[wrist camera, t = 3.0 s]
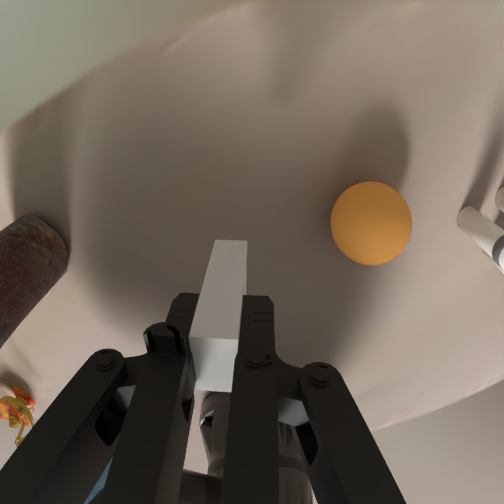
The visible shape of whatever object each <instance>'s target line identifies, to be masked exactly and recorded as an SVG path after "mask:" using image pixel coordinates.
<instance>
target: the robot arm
mask: <svg viewBox="0 0 504 504" xmlns="http://www.w3.org/2000/svg"><path fill="white" fill-rule="evenodd" d="M246 278H247V241H239V240H215V243H214V246H213V250H212V253H211V257H210V260H209V264H208V267H207V271H206V275H205V278H204V282H203V285H202V289H201V293H200V294H195V293H180V294H179V295H178V296H177V297H176V298H175V299H174V300H173V302H172V305H171V308H170V310H169V313H168V317H167V319H166V321H165V322H160V323H156V324H153V325H151V326H150V327H148V328H147V329H146V330H145V332H144V333H143V336H144V340H145V344H146V348H147V353H146V354H144V355H140V356H135V357H127V358H124V357H123V356H122V354H121V353H120V352H118V351H117V350H114V349H102V350H99V351H97V352H95V353H94V354H93V355H91V356H90V357H89V359H88V360H87V361H86V362H85V363H84V365H83V366H82V367H81V368H80V369H79V371H78V372H77V373H76V374H75V375H74V377H73V378H72V379H71V380H70V381H69V383H68V384H67V385H66V386H65V387H64V389H63V390H62V391H61V392H60V394H59V395H58V396H57V397H56V399H55V400H54V401H53V402H52V404H51V405H50V406H49V407H48V409H47V410H46V411H45V412H44V414H43V415H42V416H41V417H40V419H39V420H38V421H37V423H36V424H35V425H34V426H33V428H32V429H31V430H30V432H29V433H28V434H27V435H26V437H25V438H24V439H23V441H22V442H21V443H20V445H19V446H18V447H17V449H16V450H15V452H14V453H13V454H12V456H11V457H10V458H9V460H8V461H7V462H6V464H5V465H4V466H3V468H2V469H1V470H0V504H313V496H312V489H313V492H314V495H315V497H316V500H317V503H318V504H406V502H405V500H404V498H403V496H402V494H401V492H400V490H399V488H398V486H397V484H396V482H395V480H394V478H393V476H392V474H391V472H390V470H389V468H388V466H387V464H386V462H385V460H384V458H383V456H382V454H381V452H380V450H379V448H378V446H377V444H376V442H375V440H374V438H373V436H372V434H371V432H370V430H369V428H368V426H367V424H366V422H365V420H364V419H363V417H362V415H361V413H360V411H359V409H358V407H357V405H356V403H355V401H354V399H353V397H352V395H351V393H350V392H349V390H348V388H347V386H346V384H345V382H344V380H343V378H342V376H341V374H340V373H339V372H338V370H337V369H336V368H335V367H333V366H331V365H330V364H327V363H322V362H314V363H311V364H308V365H306V366H305V367H304V368H302V369H301V368H298V367H294V366H291V365H288V364H286V363H285V362H283V361H282V360H281V359H280V358H279V357H278V356H277V354H276V351H275V335H274V304H273V303H272V301H271V300H270V298H269V297H268V296H253V295H246ZM195 383H196V389H197V390H205V391H216V392H214V393H212V394H211V395H210V396H209V397H208V398H207V399H206V400H205V401H204V403H203V405H202V408H201V415H200V430H201V434H202V438H203V443H204V447H205V451H206V455H207V459H208V464H209V465H208V474H207V475H206V474H202V473H198V472H194V471H190V470H186V469H183V466H184V460H185V454H186V448H187V442H188V437H189V431H190V425H191V419H192V414H193V408H194V403H195V401H194V393H193V392H194V387H195Z"/></svg>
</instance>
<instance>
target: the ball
mask: <svg viewBox="0 0 504 504" xmlns="http://www.w3.org/2000/svg"><path fill="white" fill-rule="evenodd" d="M330 223H331V232H332V236H333V239H334V241H335V243H336V245H337V246H338V248H339V249H340V250H341V251H342V253H343V254H344V255H346V256H347V257H348V258H350V259H351V260H353V261H355V262H357V263H360V264H364V265H379V264H383V263H386V262H388V261H390V260H392V259H394V258H395V257H396V256H398V255H399V254H400V253H401V252H402V250H403V249H404V248H405V246H406V244H407V242H408V240H409V237H410V234H411V226H412V220H411V214H410V211H409V208H408V206H407V204H406V202H405V200H404V199H403V197H402V196H401V195H400V194H399V193H398V192H397V191H396V190H394V189H393V188H392V187H390V186H388V185H386V184H383V183H379V182H373V181H368V182H361V183H358V184H355V185H353V186H351V187H349V188H348V189H346V190H345V191H344V192H343V193H342V194H341V195H340V196H339V198H338V199H337V201H336V203H335V204H334V207H333V210H332V213H331V220H330Z"/></svg>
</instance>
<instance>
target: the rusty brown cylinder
mask: <svg viewBox="0 0 504 504" xmlns="http://www.w3.org/2000/svg"><path fill="white" fill-rule="evenodd" d="M67 264H68V251H67V248H66V247H65V244H64V241H63V240H62V238H60V237H59V235H58V233H57V232H56V231H55V230H54V229H52V228H50V227H49V226H48V225H47V224H46V223H45V222H43V221H42V220H40V219H39V218H37V217H35V216H33V215H27V216H23V217H21V218H19V219H17V220H16V221H14V222H13V223H11V224H10V225H8V226H7V227H6V228H4V229H3V230H2V231H0V349H1V347H2V346H3V344H4V343H5V342H6V341H7V339H8V338H9V337H10V335H11V334H12V333H13V332H14V330H15V329H16V328H17V327H18V325H19V324H20V323H21V322H22V321H23V320H24V319H25V317H26V316H27V315H28V314H29V313H30V312H31V310H32V309H33V308H34V307H35V306H36V305H37V304H38V302H39V301H40V300H41V299H42V298H43V297H44V296H45V295H46V294H47V293H48V291H49V290H50V289H51V288H52V287H53V286H54V285H55V284H56V283H57V281H58V280H59V279H60V278H61V277H62V276H63V275H64V274H65V272H66V271H67Z"/></svg>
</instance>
